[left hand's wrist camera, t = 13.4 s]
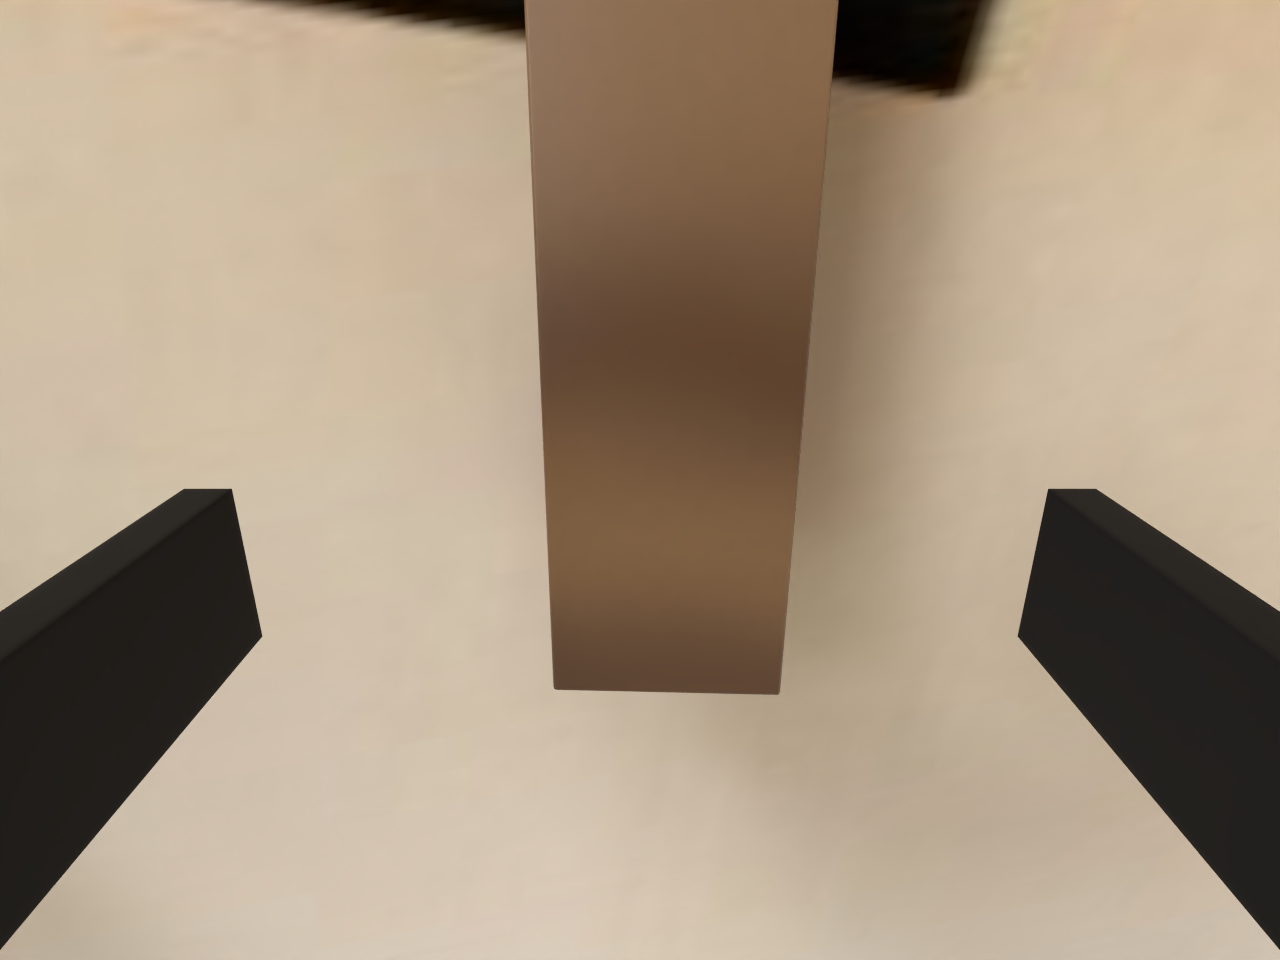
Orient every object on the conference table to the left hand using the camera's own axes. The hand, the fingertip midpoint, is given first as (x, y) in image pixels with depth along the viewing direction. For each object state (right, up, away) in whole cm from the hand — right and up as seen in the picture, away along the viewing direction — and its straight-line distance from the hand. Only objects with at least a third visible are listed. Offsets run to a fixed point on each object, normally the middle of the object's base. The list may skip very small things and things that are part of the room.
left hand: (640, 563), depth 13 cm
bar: (+1, +16, +5) cm, 17 cm away
